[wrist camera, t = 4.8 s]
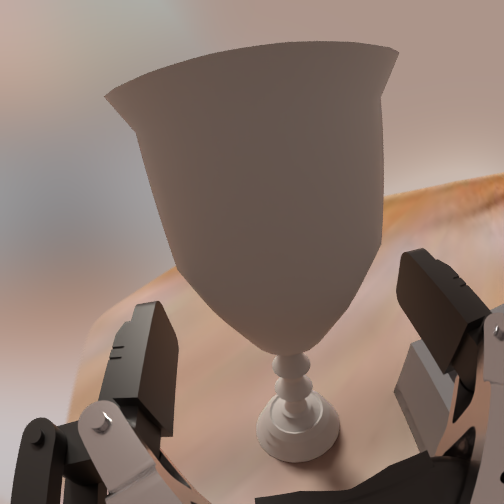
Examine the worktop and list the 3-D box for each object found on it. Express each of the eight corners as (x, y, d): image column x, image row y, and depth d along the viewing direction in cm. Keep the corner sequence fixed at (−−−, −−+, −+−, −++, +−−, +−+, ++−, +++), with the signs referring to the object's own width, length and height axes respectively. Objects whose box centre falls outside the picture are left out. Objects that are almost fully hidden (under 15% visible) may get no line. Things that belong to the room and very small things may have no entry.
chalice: (369, 394, 17) (398, 60, 7) (336, 490, 12) (401, 29, 2) (266, 370, 20) (205, 79, 10) (218, 450, 15) (52, 119, 6)
